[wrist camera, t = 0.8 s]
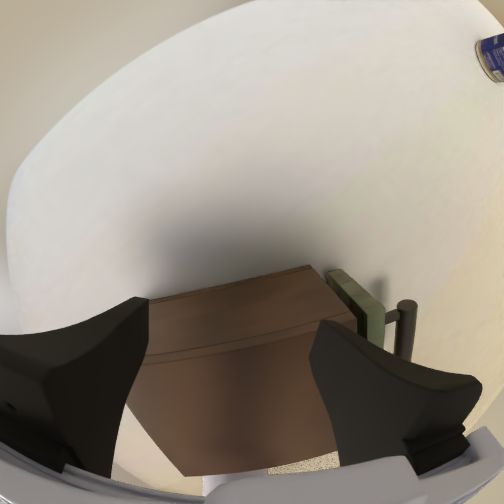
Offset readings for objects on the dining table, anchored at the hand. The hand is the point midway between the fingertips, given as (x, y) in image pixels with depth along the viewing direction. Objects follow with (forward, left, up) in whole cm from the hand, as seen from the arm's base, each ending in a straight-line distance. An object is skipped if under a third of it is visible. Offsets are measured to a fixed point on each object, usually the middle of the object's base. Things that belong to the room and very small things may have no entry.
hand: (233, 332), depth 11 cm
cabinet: (-8, +1, -10) cm, 13 cm away
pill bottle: (+17, -35, -10) cm, 40 cm away
